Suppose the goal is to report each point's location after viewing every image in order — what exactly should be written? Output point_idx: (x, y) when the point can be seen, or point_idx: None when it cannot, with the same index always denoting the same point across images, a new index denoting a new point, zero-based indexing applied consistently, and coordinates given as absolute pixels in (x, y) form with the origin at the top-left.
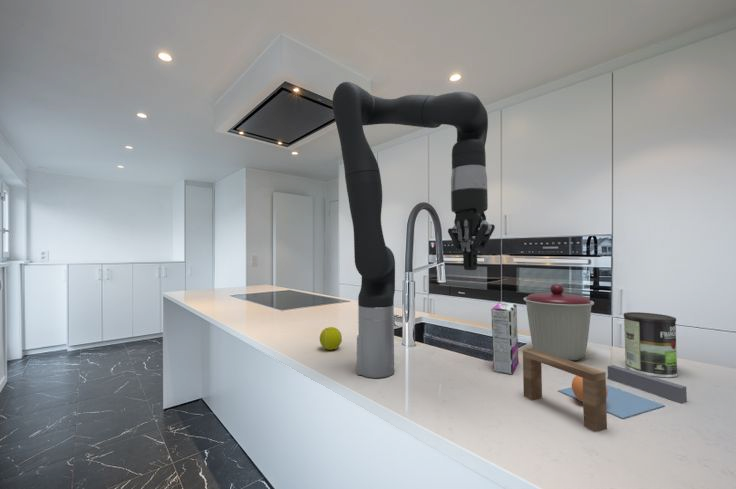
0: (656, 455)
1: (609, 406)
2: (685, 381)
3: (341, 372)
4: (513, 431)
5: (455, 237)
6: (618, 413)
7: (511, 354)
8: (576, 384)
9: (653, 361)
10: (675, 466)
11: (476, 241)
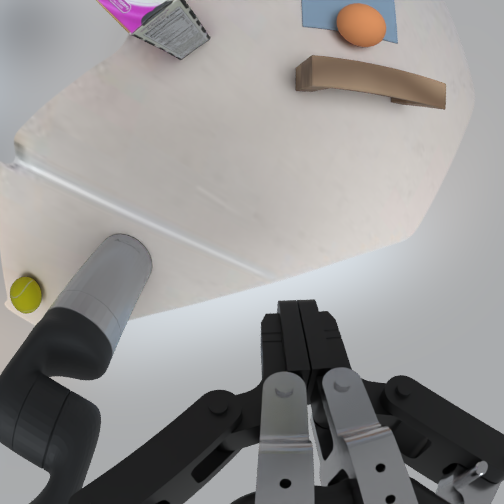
0: None
1: None
2: None
3: None
4: (361, 188)
5: (192, 493)
6: (388, 33)
7: (204, 29)
8: (360, 41)
9: None
10: (456, 108)
11: (407, 442)
